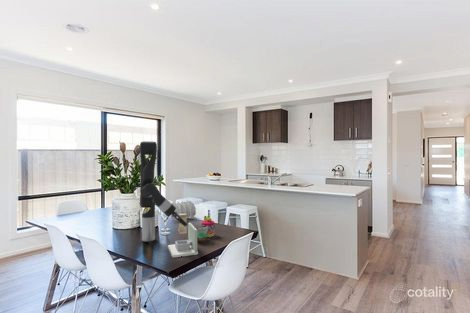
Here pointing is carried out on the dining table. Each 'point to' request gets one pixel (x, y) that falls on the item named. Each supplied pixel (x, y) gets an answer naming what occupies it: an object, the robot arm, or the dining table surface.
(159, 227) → the dining table surface
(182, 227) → the rail post
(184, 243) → the cup bracket
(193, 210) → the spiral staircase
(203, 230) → the food container
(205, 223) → the cake
